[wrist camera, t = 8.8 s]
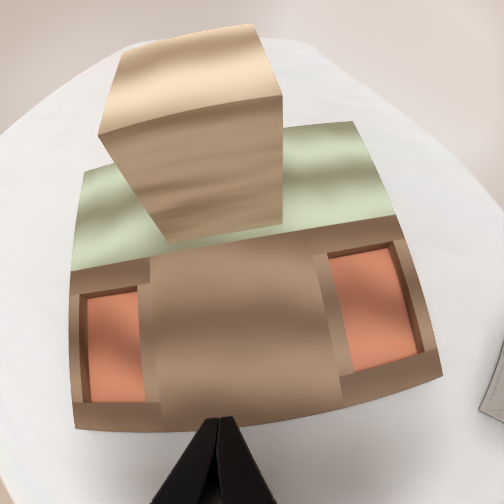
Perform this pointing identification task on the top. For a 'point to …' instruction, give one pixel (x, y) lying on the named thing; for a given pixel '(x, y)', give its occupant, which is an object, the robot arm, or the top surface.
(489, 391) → the supplement box
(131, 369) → the lane board
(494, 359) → the top surface
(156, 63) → the birch block
